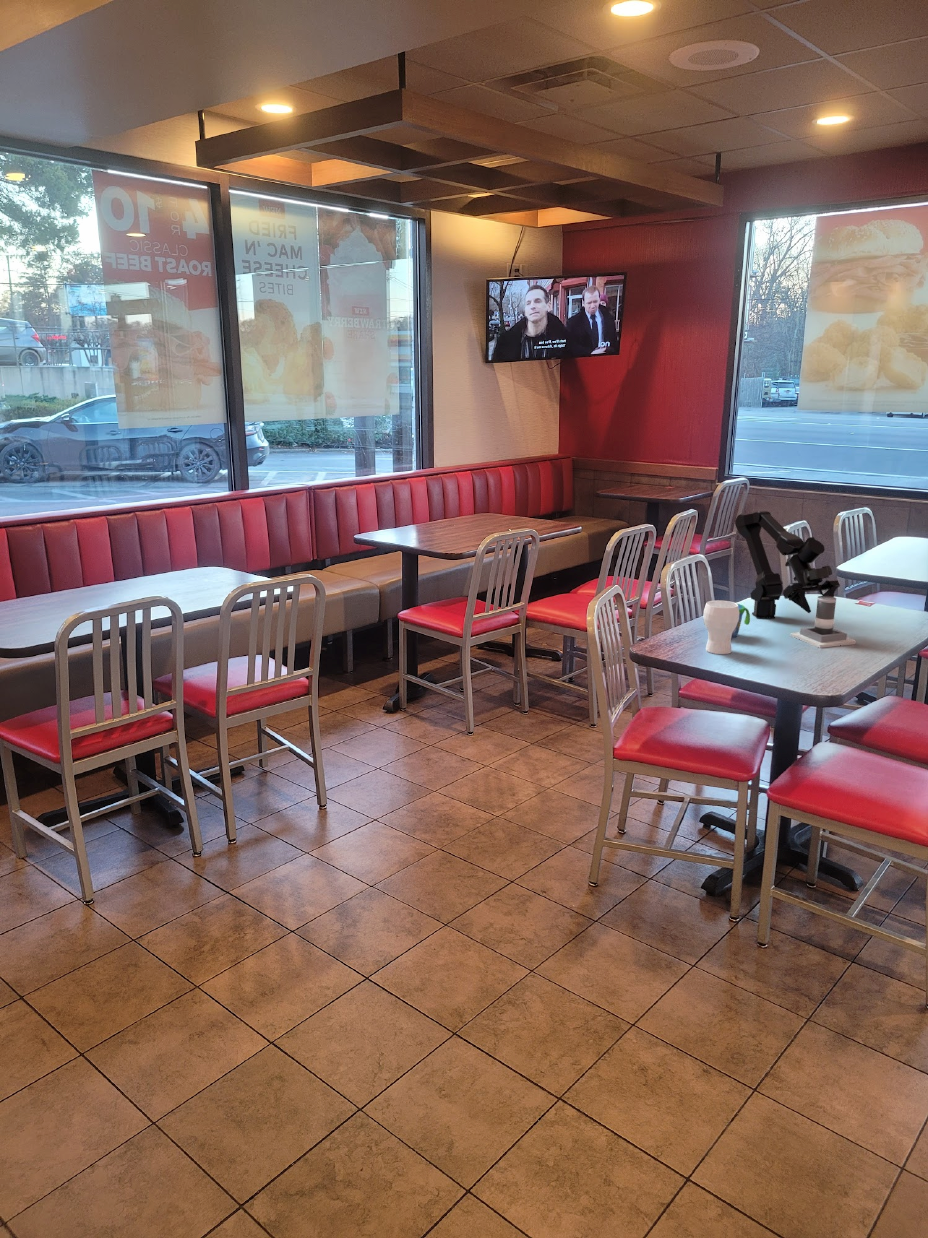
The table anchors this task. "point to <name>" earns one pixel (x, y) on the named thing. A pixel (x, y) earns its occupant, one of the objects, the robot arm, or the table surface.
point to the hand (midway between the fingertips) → (821, 611)
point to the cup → (720, 625)
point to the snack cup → (747, 619)
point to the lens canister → (825, 615)
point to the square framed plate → (823, 638)
